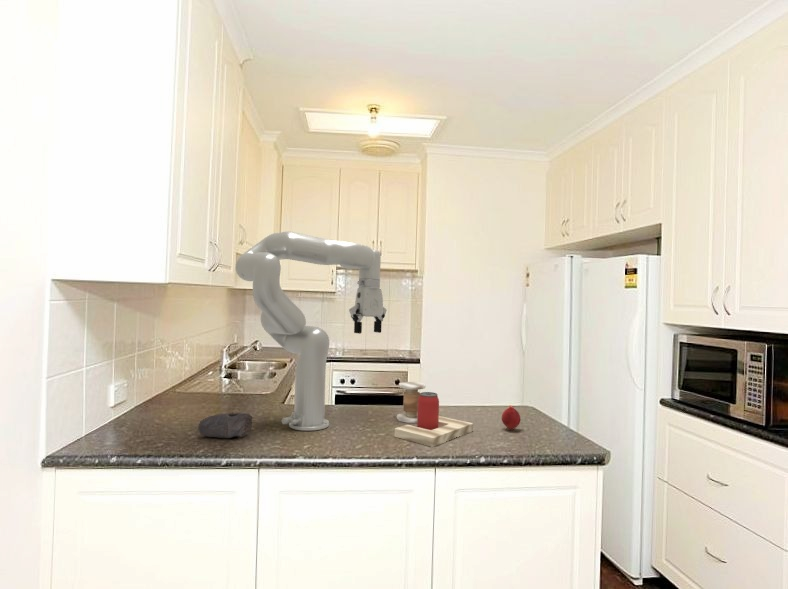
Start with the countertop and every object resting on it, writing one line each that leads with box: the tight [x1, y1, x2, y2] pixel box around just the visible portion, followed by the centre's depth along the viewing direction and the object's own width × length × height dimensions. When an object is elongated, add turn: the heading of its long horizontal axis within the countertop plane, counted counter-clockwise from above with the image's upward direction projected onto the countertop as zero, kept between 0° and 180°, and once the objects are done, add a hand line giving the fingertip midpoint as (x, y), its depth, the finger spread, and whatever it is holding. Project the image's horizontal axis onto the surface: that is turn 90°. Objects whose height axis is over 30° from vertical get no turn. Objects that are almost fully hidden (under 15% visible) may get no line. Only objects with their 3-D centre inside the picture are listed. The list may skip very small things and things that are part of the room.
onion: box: [501, 404, 521, 431], centre depth 155 cm, size 6×6×8 cm
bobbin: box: [396, 381, 426, 424], centre depth 165 cm, size 10×10×12 cm
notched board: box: [394, 415, 474, 448], centre depth 148 cm, size 22×14×2 cm, turn 140°
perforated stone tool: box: [197, 412, 253, 439], centre depth 139 cm, size 15×5×7 cm, turn 91°
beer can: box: [416, 391, 440, 430], centre depth 150 cm, size 7×7×12 cm
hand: (367, 332), depth 171 cm, fingers open, 9 cm apart
